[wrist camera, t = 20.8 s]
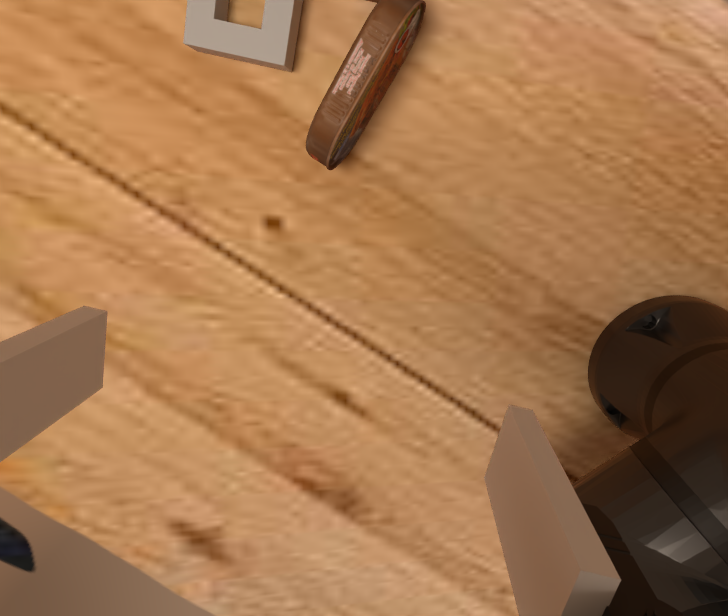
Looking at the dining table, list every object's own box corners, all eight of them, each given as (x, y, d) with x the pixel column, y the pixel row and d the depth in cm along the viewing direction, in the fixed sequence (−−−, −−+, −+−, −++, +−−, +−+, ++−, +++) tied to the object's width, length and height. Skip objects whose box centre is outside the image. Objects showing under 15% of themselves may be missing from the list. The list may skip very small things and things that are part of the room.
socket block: (309, -39, 43) (302, -54, 40) (291, 72, 45) (284, 65, 42) (209, -61, 43) (194, -78, 40) (197, 51, 45) (183, 43, 43)
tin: (339, 171, 47) (325, 172, 39) (311, 153, 47) (291, 151, 39) (427, 22, 43) (432, -11, 35) (397, 1, 43) (395, -37, 35)
